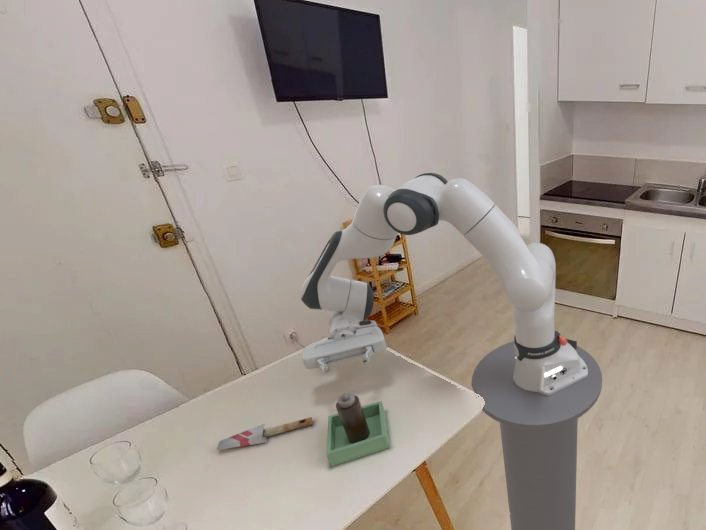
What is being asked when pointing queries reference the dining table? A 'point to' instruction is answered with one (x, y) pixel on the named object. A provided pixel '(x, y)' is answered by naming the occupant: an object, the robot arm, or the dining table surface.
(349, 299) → the robot arm
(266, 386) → the dining table surface
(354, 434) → the pepper mill
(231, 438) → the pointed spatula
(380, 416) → the tray
